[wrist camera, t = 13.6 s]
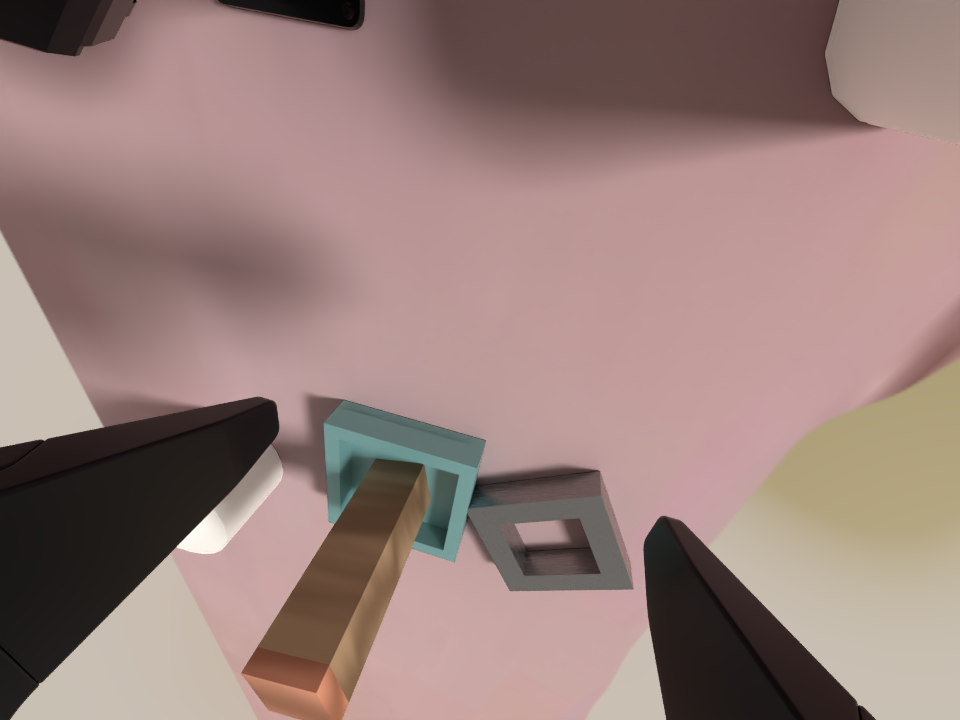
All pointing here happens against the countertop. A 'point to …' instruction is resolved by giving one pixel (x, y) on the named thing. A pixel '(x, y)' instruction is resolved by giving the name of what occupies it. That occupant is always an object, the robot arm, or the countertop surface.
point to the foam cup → (898, 64)
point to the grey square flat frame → (546, 502)
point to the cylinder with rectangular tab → (236, 506)
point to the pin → (341, 598)
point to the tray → (383, 435)
